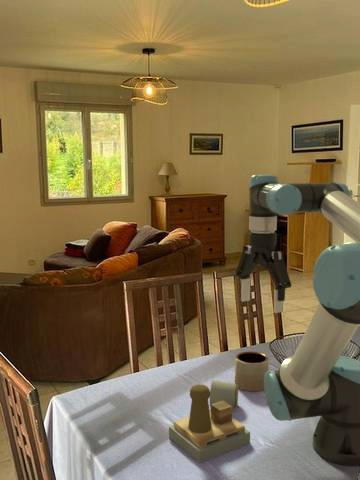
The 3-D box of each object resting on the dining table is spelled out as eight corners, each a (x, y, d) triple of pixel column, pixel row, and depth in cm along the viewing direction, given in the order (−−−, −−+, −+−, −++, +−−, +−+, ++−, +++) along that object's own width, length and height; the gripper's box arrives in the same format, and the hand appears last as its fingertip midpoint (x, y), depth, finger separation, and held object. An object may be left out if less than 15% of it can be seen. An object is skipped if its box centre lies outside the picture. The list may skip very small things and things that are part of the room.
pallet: (244, 431, 130) (244, 426, 130) (200, 448, 123) (200, 442, 122) (216, 412, 140) (216, 407, 140) (174, 426, 133) (174, 421, 132)
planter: (273, 382, 166) (274, 355, 164) (260, 395, 157) (260, 366, 155) (243, 375, 172) (243, 348, 170) (228, 387, 163) (229, 359, 161)
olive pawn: (204, 435, 125) (204, 394, 124) (183, 429, 129) (183, 388, 127) (215, 425, 130) (216, 384, 129) (195, 419, 134) (195, 379, 132)
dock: (250, 442, 130) (250, 432, 130) (199, 462, 122) (199, 451, 121) (217, 420, 142) (217, 410, 141) (168, 436, 133) (168, 426, 133)
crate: (231, 420, 133) (232, 406, 132) (219, 424, 131) (219, 410, 130) (222, 414, 136) (222, 400, 135) (210, 418, 134) (210, 404, 133)
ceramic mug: (237, 413, 146) (237, 388, 145) (209, 411, 147) (209, 386, 146) (238, 397, 156) (238, 373, 155) (212, 395, 157) (212, 372, 156)
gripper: (306, 235, 130) (303, 314, 133) (243, 225, 151) (242, 294, 154) (285, 237, 126) (283, 319, 129) (224, 227, 147) (223, 298, 150)
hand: (261, 306), depth 142 cm, fingers open, 13 cm apart
